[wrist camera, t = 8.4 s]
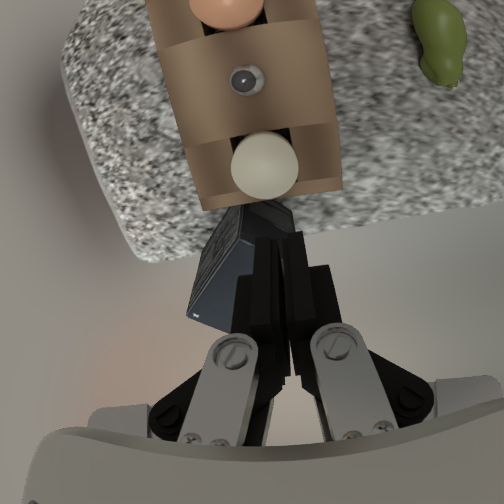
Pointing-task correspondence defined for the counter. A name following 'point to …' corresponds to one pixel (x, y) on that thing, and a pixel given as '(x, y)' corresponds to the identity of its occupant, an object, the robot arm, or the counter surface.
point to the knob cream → (264, 165)
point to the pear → (440, 40)
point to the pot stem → (247, 80)
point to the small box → (233, 258)
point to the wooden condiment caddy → (249, 107)
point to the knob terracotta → (227, 13)
